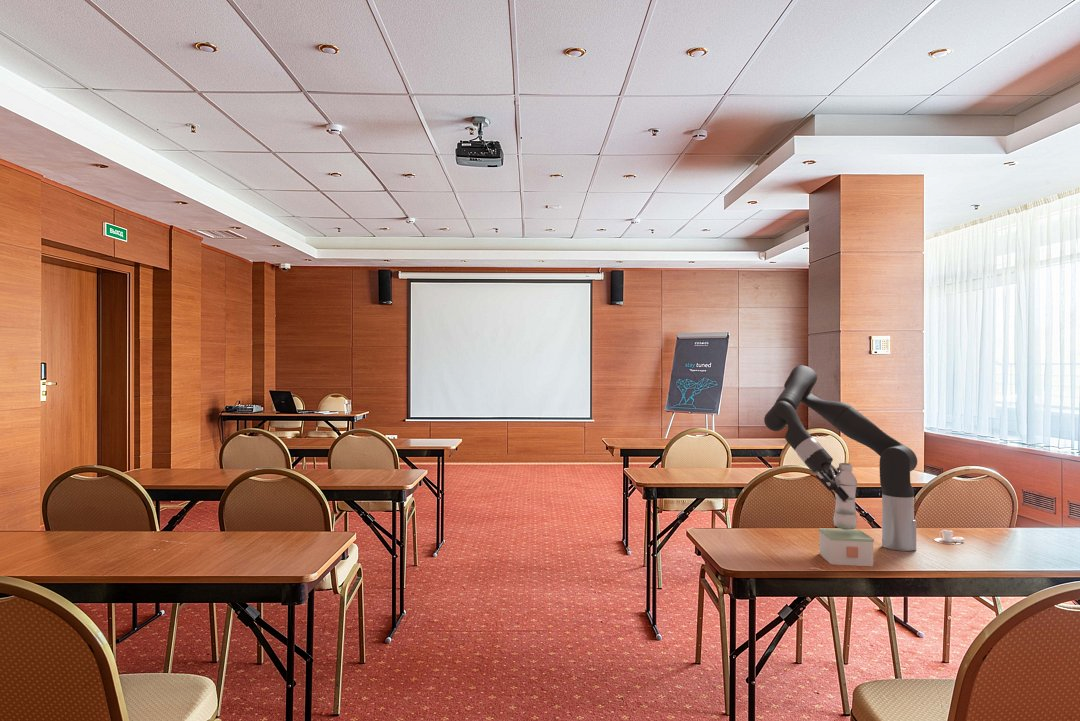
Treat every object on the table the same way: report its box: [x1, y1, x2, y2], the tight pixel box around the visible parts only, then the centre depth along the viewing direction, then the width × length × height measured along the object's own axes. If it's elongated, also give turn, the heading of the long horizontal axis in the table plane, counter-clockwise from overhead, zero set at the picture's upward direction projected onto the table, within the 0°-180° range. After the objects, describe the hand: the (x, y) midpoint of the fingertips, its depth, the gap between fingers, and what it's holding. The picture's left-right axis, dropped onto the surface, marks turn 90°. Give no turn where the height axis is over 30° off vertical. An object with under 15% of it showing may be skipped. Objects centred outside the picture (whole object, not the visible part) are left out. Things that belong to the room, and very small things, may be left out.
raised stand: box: [818, 527, 875, 567], centre depth 205 cm, size 12×13×8 cm
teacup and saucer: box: [934, 529, 965, 545], centre depth 229 cm, size 9×8×4 cm
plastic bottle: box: [833, 462, 858, 530], centre depth 205 cm, size 6×7×20 cm
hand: (851, 497), depth 204 cm, fingers closed on plastic bottle, 6 cm apart
